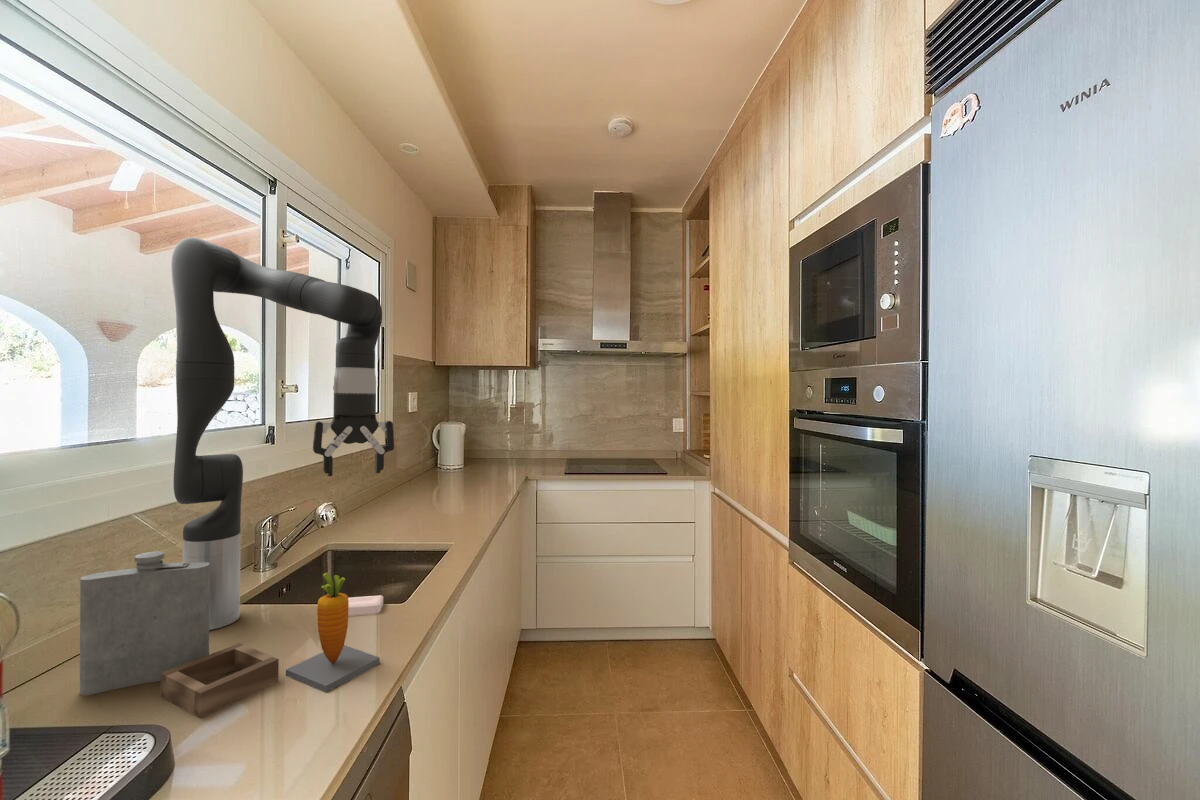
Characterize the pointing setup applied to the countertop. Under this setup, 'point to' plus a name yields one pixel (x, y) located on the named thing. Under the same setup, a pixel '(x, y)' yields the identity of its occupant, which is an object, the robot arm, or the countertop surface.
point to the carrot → (332, 618)
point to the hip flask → (142, 622)
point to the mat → (332, 668)
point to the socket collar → (204, 699)
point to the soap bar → (365, 605)
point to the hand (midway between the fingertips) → (354, 474)
